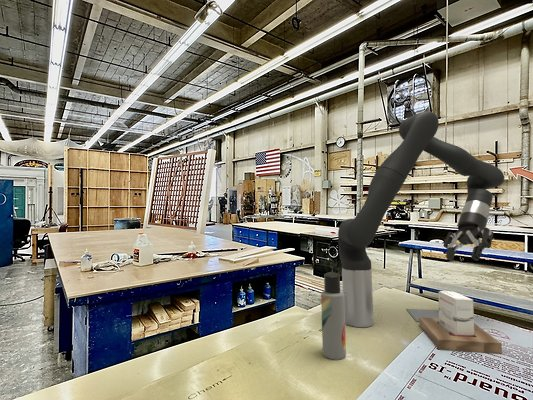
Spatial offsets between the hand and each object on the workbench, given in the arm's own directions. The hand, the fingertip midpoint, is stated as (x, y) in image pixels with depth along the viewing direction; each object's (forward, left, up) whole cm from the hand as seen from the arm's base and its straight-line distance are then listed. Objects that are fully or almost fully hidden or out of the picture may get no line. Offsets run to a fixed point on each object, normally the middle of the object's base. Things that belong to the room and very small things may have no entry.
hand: (461, 259), depth 91 cm
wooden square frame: (-7, -12, -20) cm, 24 cm away
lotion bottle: (-40, -27, -20) cm, 53 cm away
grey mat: (-7, +5, -20) cm, 22 cm away
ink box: (-7, -12, -20) cm, 24 cm away
